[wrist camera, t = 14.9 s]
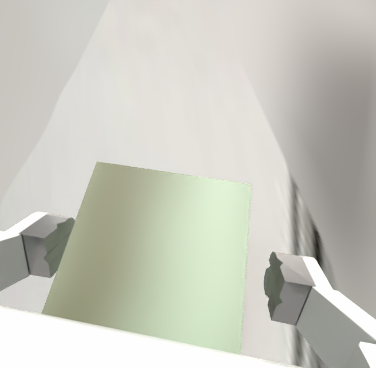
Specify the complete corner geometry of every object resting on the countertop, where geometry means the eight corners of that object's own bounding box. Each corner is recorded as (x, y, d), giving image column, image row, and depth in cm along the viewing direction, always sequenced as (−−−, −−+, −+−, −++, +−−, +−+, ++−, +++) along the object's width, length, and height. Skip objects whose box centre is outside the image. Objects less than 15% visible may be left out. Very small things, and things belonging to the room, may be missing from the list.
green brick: (218, 239, 16) (252, 184, 7) (208, 319, 14) (238, 385, 5) (149, 227, 17) (96, 161, 8) (130, 304, 15) (31, 341, 6)
